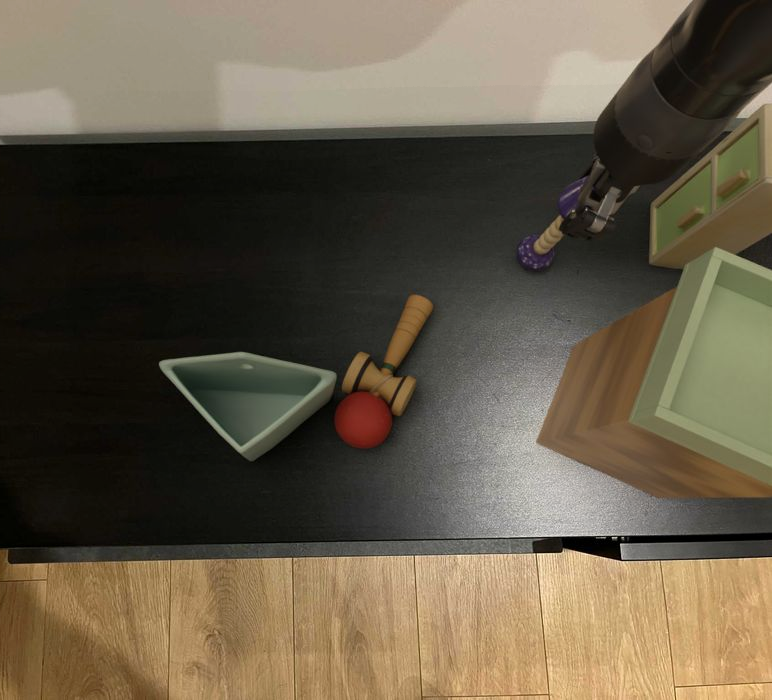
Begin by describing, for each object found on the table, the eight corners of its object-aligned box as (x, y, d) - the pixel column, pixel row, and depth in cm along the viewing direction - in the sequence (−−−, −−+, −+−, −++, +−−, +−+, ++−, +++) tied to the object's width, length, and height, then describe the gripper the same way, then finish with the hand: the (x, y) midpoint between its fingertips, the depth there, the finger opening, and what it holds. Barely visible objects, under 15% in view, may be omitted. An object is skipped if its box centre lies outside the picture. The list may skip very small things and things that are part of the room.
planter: (175, 456, 75) (131, 440, 55) (183, 383, 76) (143, 344, 57) (327, 466, 75) (335, 454, 55) (331, 393, 76) (341, 357, 57)
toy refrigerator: (643, 200, 81) (758, 99, 61) (705, 208, 81) (842, 110, 61) (640, 264, 80) (757, 183, 59) (704, 273, 79) (844, 194, 59)
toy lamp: (536, 226, 80) (594, 154, 63) (566, 253, 79) (634, 188, 62) (508, 253, 79) (560, 189, 63) (538, 281, 78) (599, 223, 62)
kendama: (379, 293, 80) (310, 430, 74) (398, 274, 74) (325, 421, 68) (436, 326, 81) (372, 464, 75) (460, 310, 75) (393, 458, 69)
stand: (693, 397, 76) (866, 351, 53) (658, 498, 74) (822, 497, 51) (574, 344, 78) (691, 277, 54) (535, 442, 75) (641, 416, 52)
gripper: (687, 214, 48) (590, 288, 65) (748, 50, 51) (640, 161, 68) (585, 172, 49) (515, 256, 66) (651, 13, 52) (567, 132, 69)
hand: (579, 207), depth 67 cm, fingers closed on toy lamp, 4 cm apart
